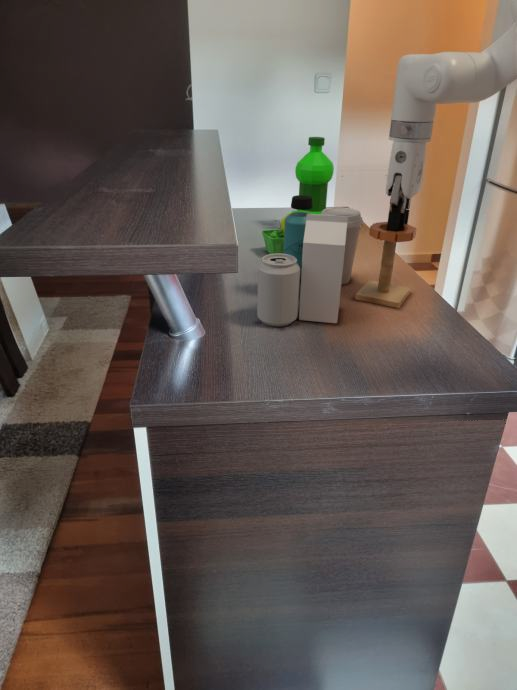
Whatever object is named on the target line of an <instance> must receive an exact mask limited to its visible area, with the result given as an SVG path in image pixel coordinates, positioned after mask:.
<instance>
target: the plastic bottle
mask: <svg viewBox="0 0 517 690" xmlns="http://www.w3.org/2000/svg"><path fill="white" fill-rule="evenodd" d="M325 140H326V138H325V137H324V136H323V137H322V136H308V142H307V143H308V144H307V145H308V146H309V151H308V152H307V153H306V154H305V155H304V156H303V157H301V158H300V160H298V162H297V163H296V166H295V173H294V174H295V178H296V180H297V181H298V182H299V183H298V184H299V185H298V188H299V189H298V195H306V196H310V197H312V205H313V207H312V209H309V210H297V209H296V211H298V212H306V213H310V214H318V215H321V213H322V211H323V210H324V209H327V202H328V201H327V199H328V188H329V183H330V181H331V180H332V179H333V176H334V171H335V170H334V169H335V167H334V163H333V162H332V160H331V159H330V158H329V157H328V155H326V154H325V153H324V152H323V147H324V146H325Z"/></svg>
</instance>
